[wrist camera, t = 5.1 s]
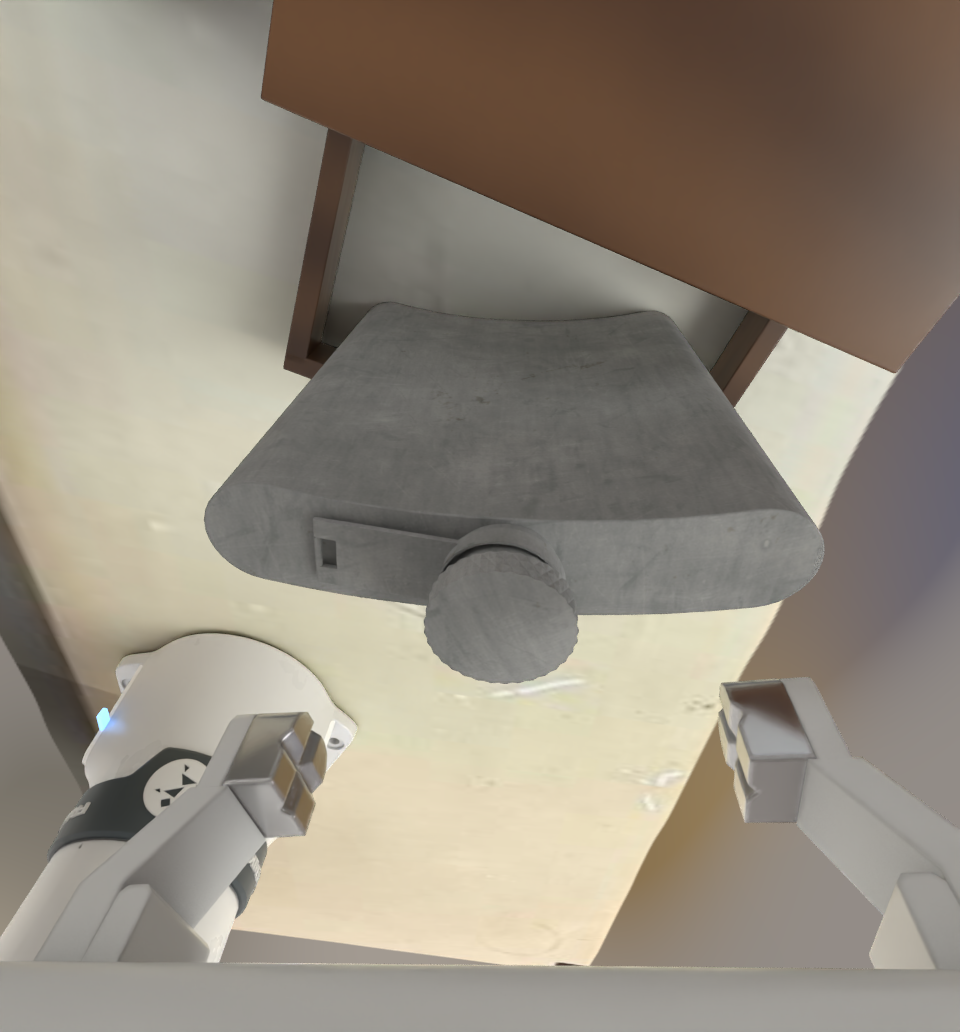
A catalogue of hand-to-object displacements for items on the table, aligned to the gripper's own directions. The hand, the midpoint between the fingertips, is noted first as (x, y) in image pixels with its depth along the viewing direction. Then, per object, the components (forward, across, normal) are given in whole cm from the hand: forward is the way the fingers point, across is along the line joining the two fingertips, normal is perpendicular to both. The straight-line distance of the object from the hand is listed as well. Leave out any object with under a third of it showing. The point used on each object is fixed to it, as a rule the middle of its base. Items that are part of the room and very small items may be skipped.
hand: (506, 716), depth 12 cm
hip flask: (+22, 0, 0) cm, 22 cm away
